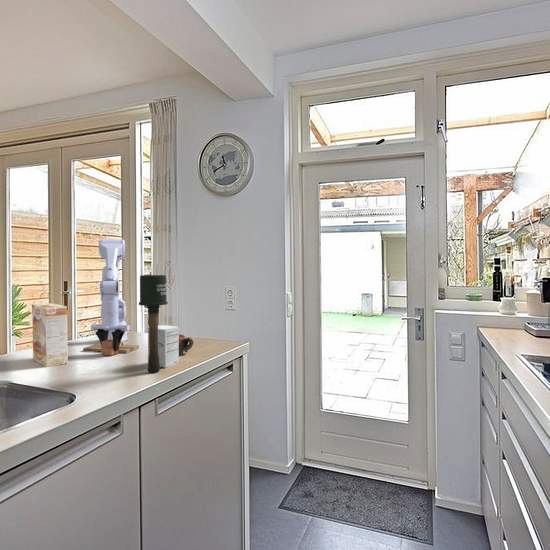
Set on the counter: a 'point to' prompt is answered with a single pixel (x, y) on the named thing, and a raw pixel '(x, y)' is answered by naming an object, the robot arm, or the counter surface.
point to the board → (121, 348)
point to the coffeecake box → (49, 334)
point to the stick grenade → (153, 312)
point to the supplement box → (167, 345)
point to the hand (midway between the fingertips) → (110, 349)
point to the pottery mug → (184, 344)
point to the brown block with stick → (109, 347)
